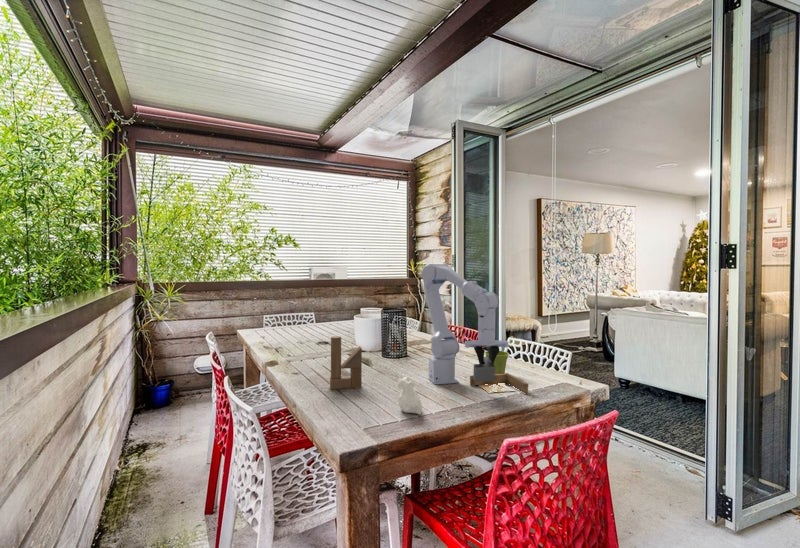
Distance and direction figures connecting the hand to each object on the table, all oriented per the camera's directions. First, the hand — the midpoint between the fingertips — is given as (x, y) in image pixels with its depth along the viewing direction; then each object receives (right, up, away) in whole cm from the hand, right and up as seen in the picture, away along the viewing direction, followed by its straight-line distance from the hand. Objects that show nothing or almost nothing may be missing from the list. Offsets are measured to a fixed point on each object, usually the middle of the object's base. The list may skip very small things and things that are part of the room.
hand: (486, 368), depth 138 cm
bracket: (-2, -2, -1) cm, 3 cm away
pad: (+5, -8, +5) cm, 11 cm away
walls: (+4, -8, +4) cm, 10 cm away
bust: (-26, -9, -17) cm, 33 cm away
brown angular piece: (-48, -8, +6) cm, 49 cm away
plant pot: (+9, -8, +23) cm, 26 cm away
